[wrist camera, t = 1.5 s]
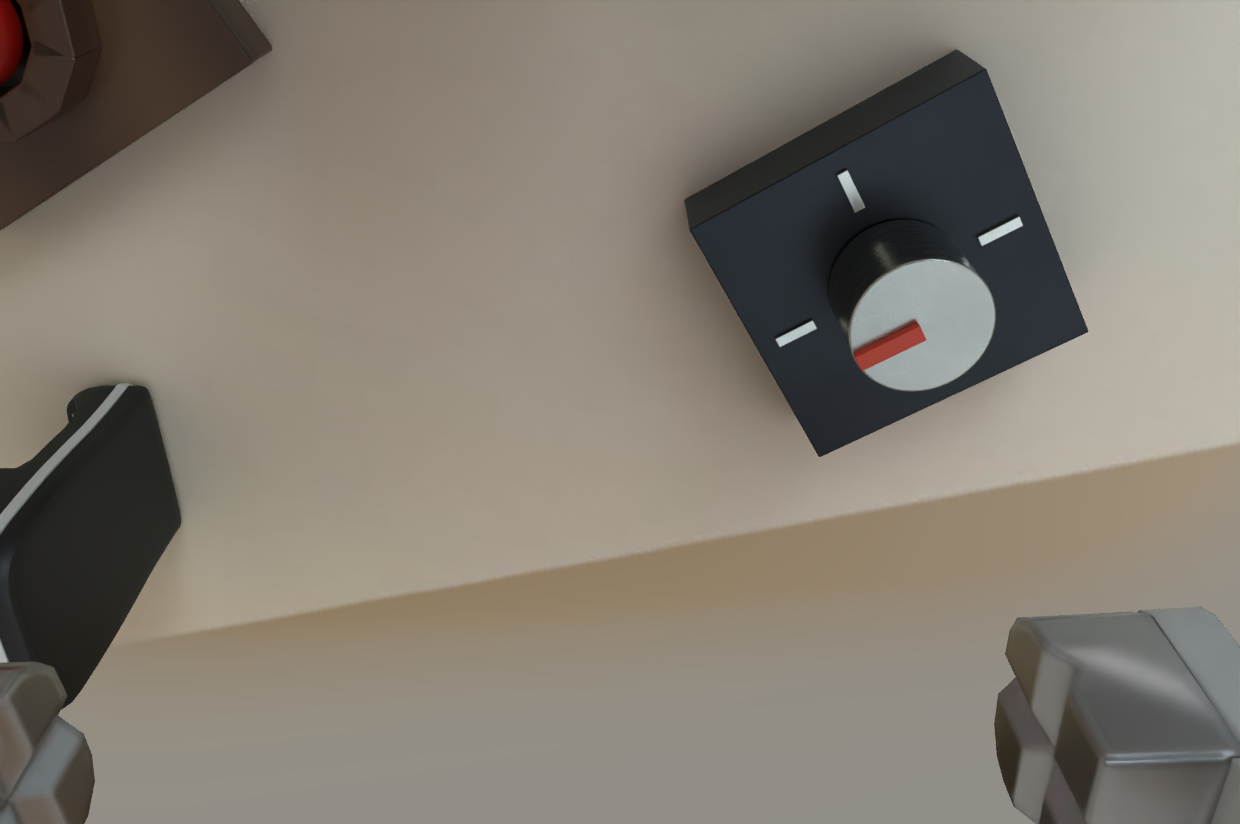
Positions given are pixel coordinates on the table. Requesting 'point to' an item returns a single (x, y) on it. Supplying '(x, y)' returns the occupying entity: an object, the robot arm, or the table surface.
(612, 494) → the table surface
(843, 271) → the knob
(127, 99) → the button block
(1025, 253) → the panel
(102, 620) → the battery charger
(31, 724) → the robot arm
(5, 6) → the button
